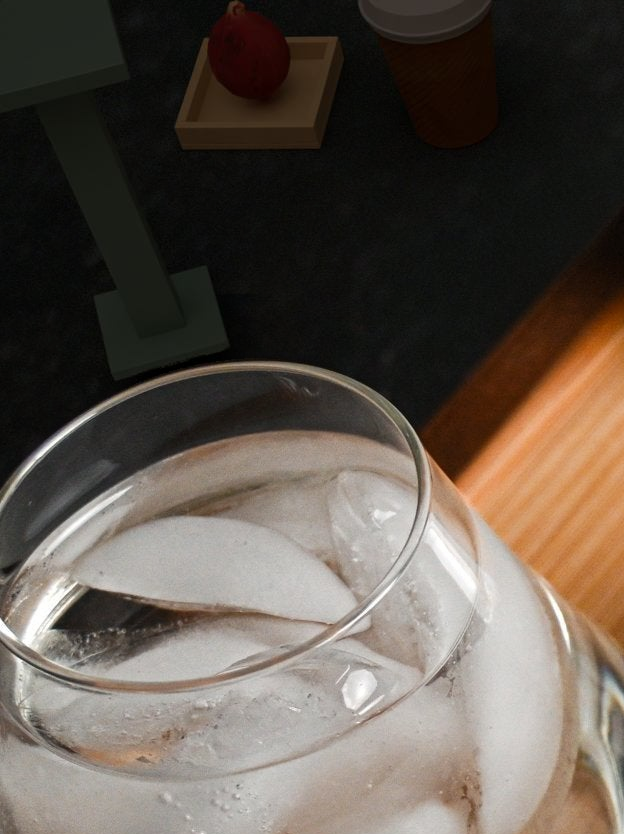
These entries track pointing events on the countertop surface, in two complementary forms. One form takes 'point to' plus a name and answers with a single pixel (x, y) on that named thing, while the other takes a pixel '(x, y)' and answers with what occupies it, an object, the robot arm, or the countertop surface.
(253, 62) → the onion
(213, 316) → the stand
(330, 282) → the countertop surface
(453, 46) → the disposable coffee cup
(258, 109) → the tray
